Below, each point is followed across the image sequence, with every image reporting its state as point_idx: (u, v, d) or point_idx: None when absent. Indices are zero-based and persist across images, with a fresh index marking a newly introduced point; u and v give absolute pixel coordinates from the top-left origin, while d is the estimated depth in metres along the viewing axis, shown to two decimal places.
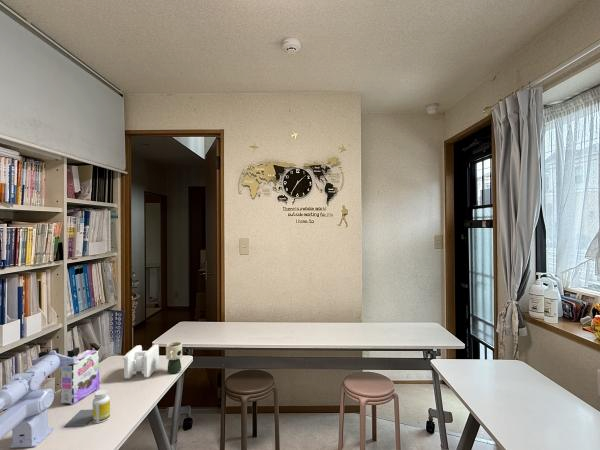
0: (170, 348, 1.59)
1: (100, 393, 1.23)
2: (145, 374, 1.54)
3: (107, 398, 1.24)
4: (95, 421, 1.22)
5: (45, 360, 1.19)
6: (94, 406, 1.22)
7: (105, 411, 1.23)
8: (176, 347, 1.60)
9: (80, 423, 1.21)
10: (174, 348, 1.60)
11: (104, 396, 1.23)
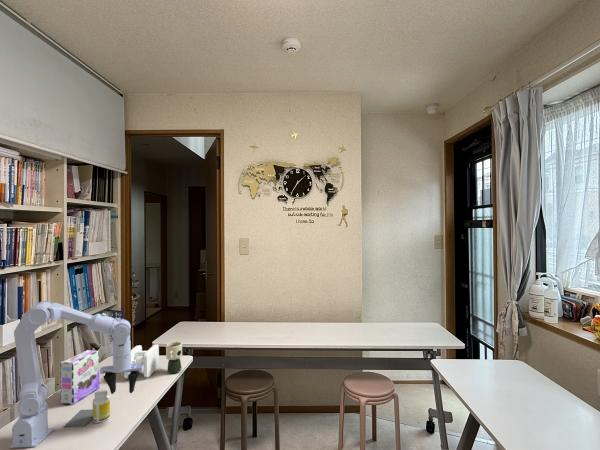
0: (170, 348, 1.59)
1: (100, 393, 1.23)
2: (145, 374, 1.54)
3: (107, 398, 1.24)
4: (95, 421, 1.22)
5: None
6: (94, 406, 1.22)
7: (105, 411, 1.23)
8: (176, 347, 1.60)
9: (80, 423, 1.21)
10: (174, 348, 1.60)
11: (104, 396, 1.23)
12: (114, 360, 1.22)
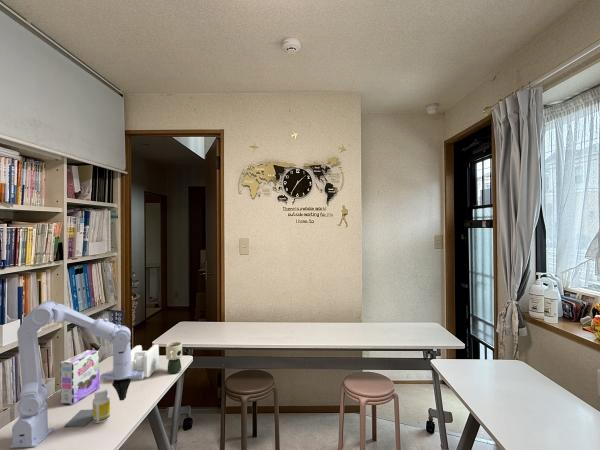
0: (170, 348, 1.59)
1: (100, 393, 1.23)
2: (145, 374, 1.54)
3: (107, 398, 1.24)
4: (95, 421, 1.22)
5: None
6: (94, 406, 1.22)
7: (105, 411, 1.23)
8: (176, 347, 1.60)
9: (80, 423, 1.21)
10: (174, 348, 1.60)
11: (104, 396, 1.23)
12: (114, 367, 1.22)
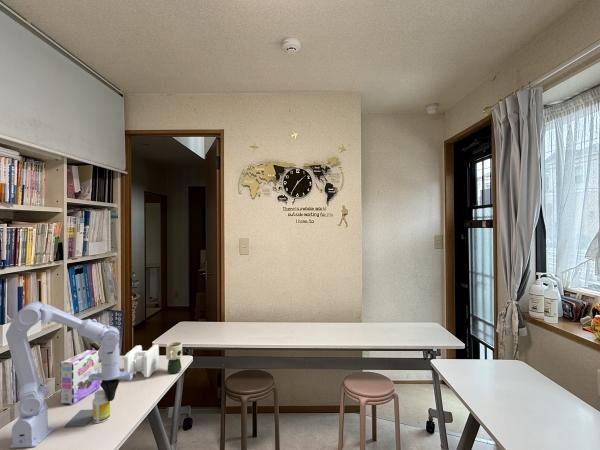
0: (170, 348, 1.59)
1: (100, 393, 1.23)
2: (145, 374, 1.54)
3: None
4: (95, 421, 1.22)
5: None
6: (94, 406, 1.22)
7: (105, 411, 1.23)
8: (176, 347, 1.60)
9: (80, 423, 1.21)
10: (174, 348, 1.60)
11: (104, 396, 1.23)
12: (102, 368, 1.22)
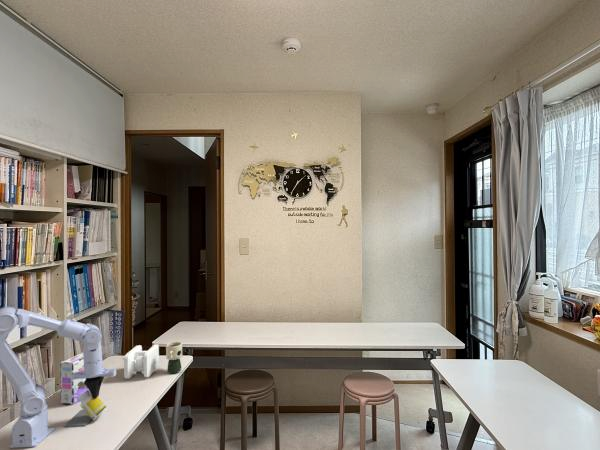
0: (170, 348, 1.59)
1: (82, 394, 1.23)
2: (145, 374, 1.54)
3: (91, 395, 1.24)
4: (93, 418, 1.22)
5: None
6: (83, 408, 1.22)
7: (97, 404, 1.23)
8: (176, 347, 1.60)
9: (80, 423, 1.21)
10: (174, 348, 1.60)
11: (87, 394, 1.23)
12: (85, 366, 1.21)
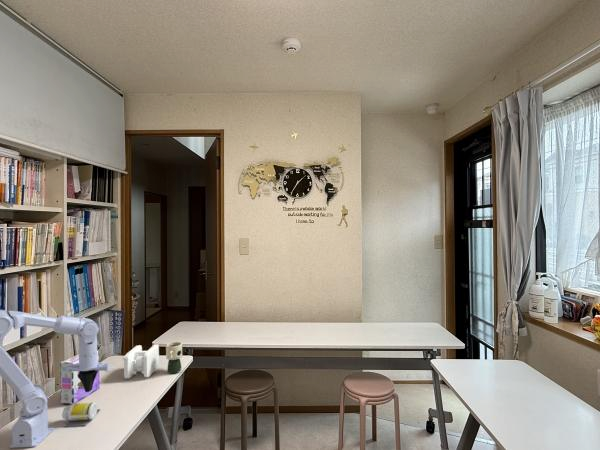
0: (170, 348, 1.59)
1: None
2: (145, 374, 1.54)
3: None
4: (88, 417, 1.21)
5: None
6: (73, 419, 1.21)
7: (81, 408, 1.22)
8: (176, 347, 1.60)
9: (80, 423, 1.21)
10: (174, 348, 1.60)
11: (66, 409, 1.22)
12: (79, 358, 1.22)
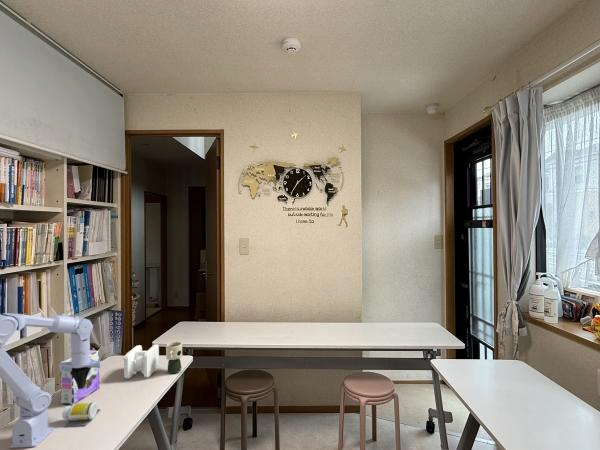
0: (170, 348, 1.59)
1: None
2: (145, 374, 1.54)
3: (71, 406, 1.23)
4: (88, 417, 1.21)
5: None
6: (73, 419, 1.21)
7: (81, 408, 1.22)
8: (176, 347, 1.60)
9: (80, 423, 1.21)
10: (174, 348, 1.60)
11: (66, 409, 1.22)
12: (72, 356, 1.25)
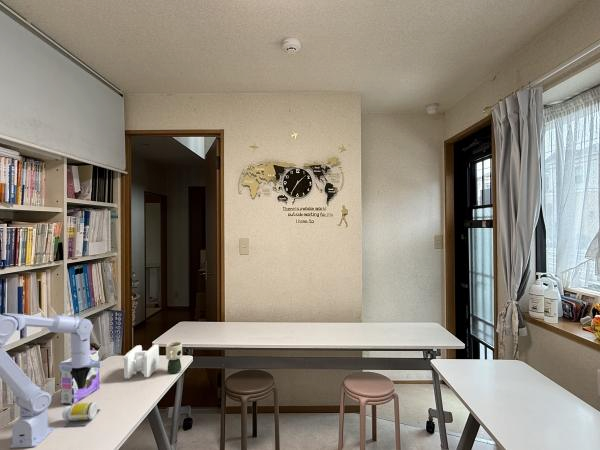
0: (170, 348, 1.59)
1: None
2: (145, 374, 1.54)
3: (71, 406, 1.23)
4: (88, 417, 1.21)
5: None
6: (73, 419, 1.21)
7: (81, 408, 1.22)
8: (176, 347, 1.60)
9: (80, 423, 1.21)
10: (174, 348, 1.60)
11: (66, 409, 1.22)
12: (72, 356, 1.25)
